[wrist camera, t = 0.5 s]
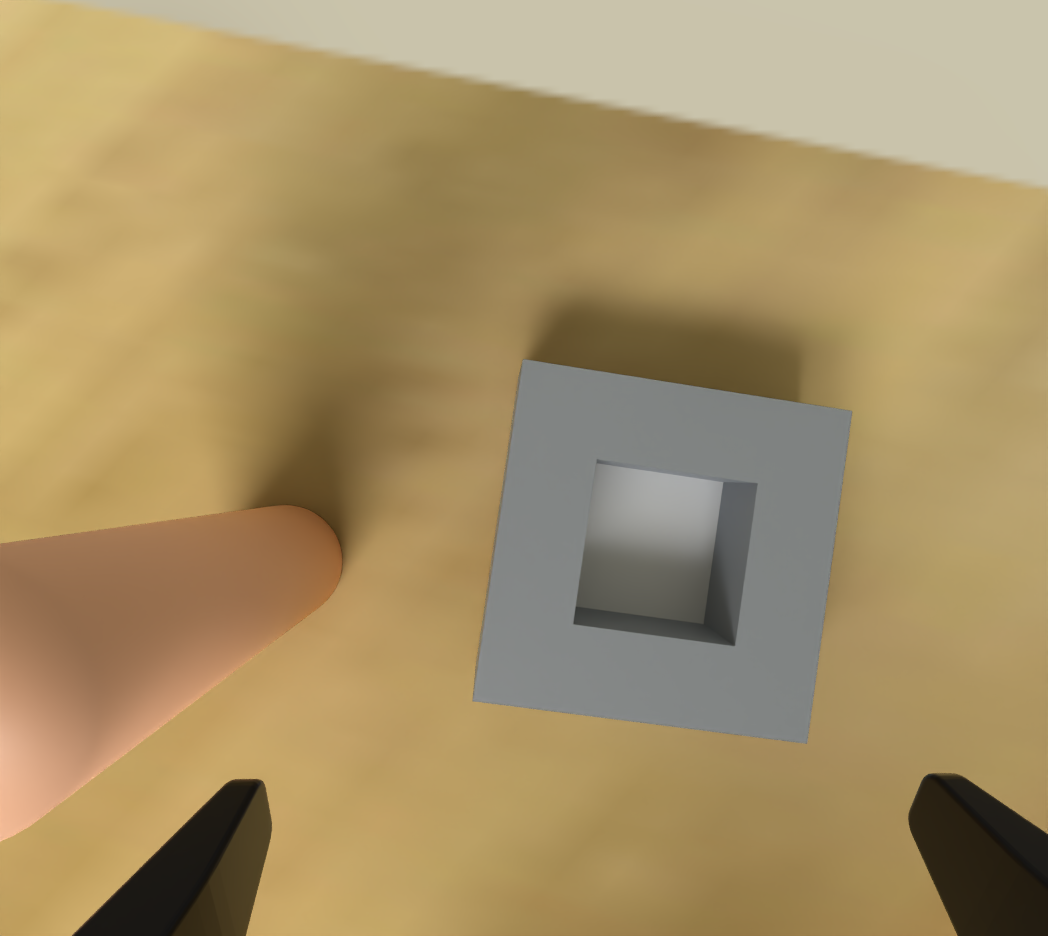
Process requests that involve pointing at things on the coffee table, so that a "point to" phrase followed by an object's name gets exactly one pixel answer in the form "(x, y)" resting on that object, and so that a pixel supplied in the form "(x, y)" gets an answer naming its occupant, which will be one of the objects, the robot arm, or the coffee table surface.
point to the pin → (137, 634)
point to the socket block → (662, 553)
